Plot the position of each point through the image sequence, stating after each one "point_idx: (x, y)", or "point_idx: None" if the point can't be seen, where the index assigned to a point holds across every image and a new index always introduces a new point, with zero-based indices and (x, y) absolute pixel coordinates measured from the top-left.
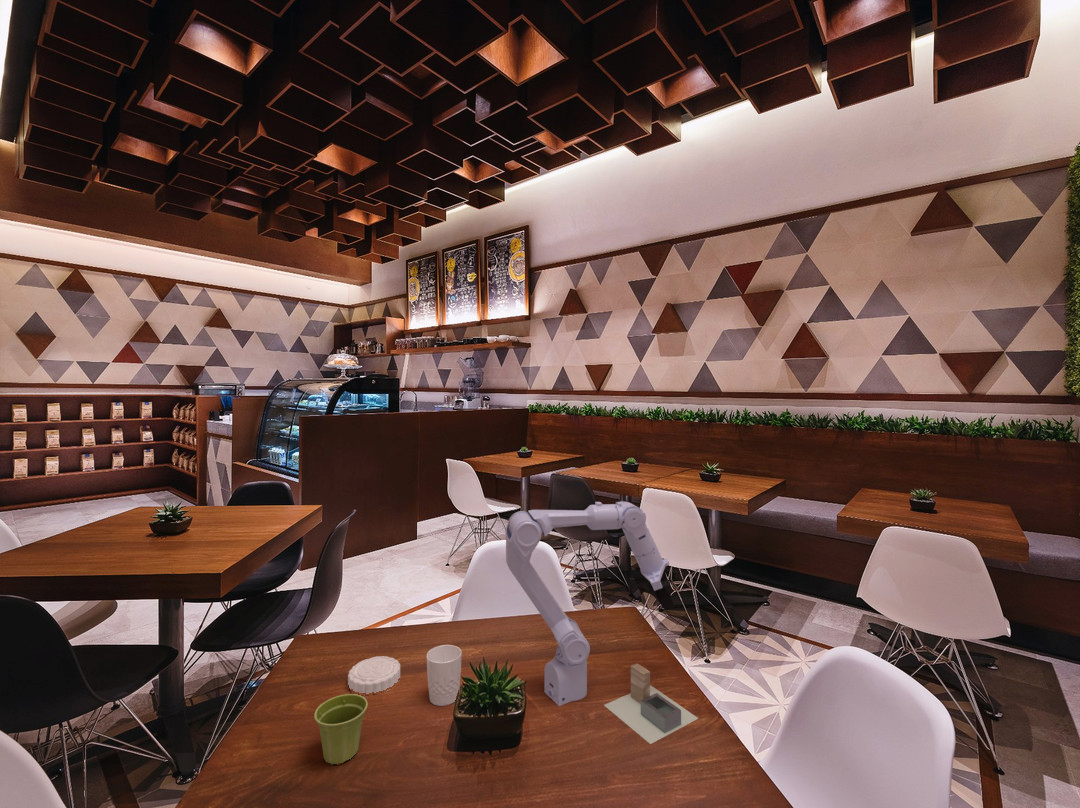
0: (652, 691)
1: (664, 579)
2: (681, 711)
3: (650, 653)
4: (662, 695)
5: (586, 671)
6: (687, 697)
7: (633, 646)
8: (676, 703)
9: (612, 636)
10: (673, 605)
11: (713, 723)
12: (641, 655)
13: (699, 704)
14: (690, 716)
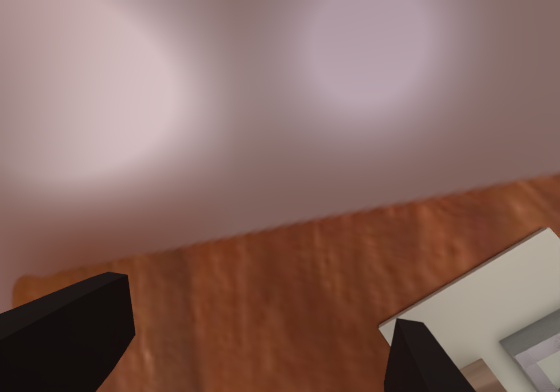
0: None
1: (23, 362)
2: (516, 269)
3: (208, 273)
4: (434, 305)
5: None
6: (413, 226)
7: (176, 312)
8: (473, 273)
9: (130, 359)
10: (433, 336)
11: (537, 185)
12: (217, 302)
13: (445, 201)
14: (541, 249)
